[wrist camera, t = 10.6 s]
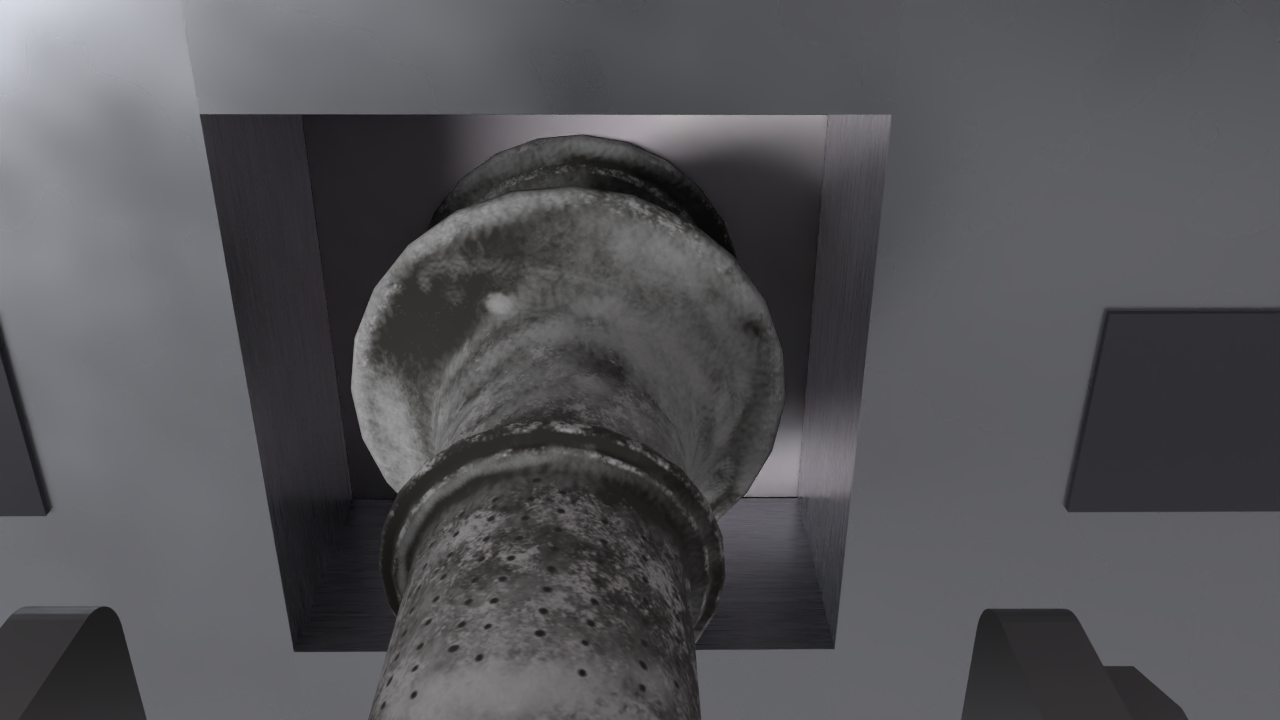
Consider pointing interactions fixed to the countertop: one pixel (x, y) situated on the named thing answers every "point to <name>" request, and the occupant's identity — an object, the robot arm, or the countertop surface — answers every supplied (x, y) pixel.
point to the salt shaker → (561, 436)
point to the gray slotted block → (838, 354)
